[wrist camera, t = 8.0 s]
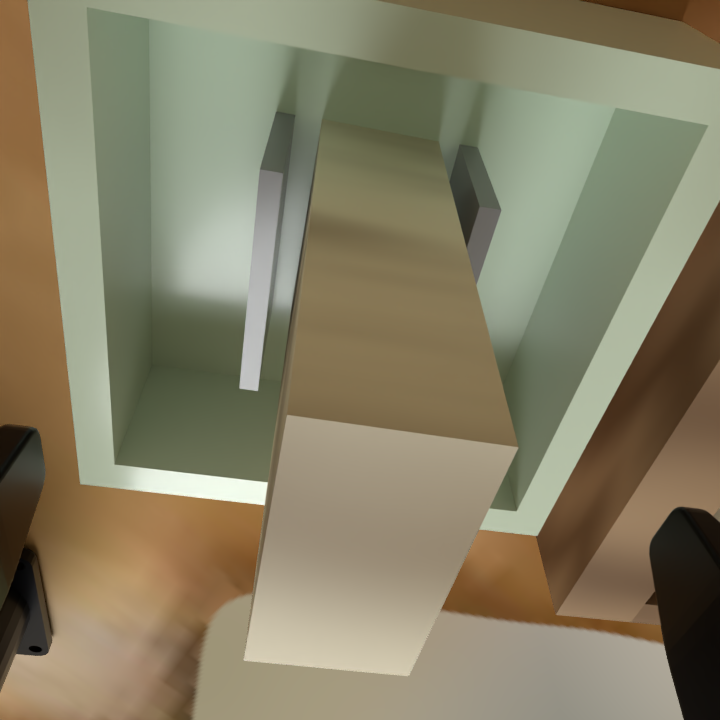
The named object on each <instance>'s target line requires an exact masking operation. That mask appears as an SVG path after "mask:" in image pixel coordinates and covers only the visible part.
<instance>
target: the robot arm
mask: <svg viewBox="0 0 720 720" xmlns="http://www.w3.org/2000/svg"><path fill="white" fill-rule="evenodd" d="M44 480H45V464H44V458H43V451H42V445H41V439H40V434H39V432H38V430H37V429H36V428H33V427H28V426H20V425H12V424H6V425H3V426H1V427H0V691H1V689H2V686H3V684H4V682H5V679H6V677H7V674H8V672H9V669H10V667H11V665H12V662H13V660H14V657H15V655H16V654H23V655H35V656H42V655H46V654H47V653H48V652H49V649H50V646H51V644H52V636H51V631H50V626H49V620H48V615H47V609H46V604H45V599H44V593H43V588H42V582H41V577H40V572H39V566H38V561H37V557H36V555H35V553H33V552H32V551H31V550H28V549H26V548H23V547H24V544H25V540H26V537H27V534H28V531H29V528H30V525H31V522H32V519H33V516H34V513H35V510H36V507H37V504H38V501H39V498H40V494H41V491H42V488H43V485H44ZM649 558H650V564H651V570H652V576H653V582H654V588H655V594H656V600H657V605H658V611H659V617H660V623H661V629H662V635H663V641H664V646H665V650H666V655H667V659H668V663H669V667H670V671H671V675H672V678H673V682H674V686H675V689H676V693H677V696H678V700H679V704H680V707H681V711H682V715H683V718H684V720H720V522H719V521H718V520H717V519H716V518H715V517H714V516H712V515H711V514H710V513H709V512H707V511H706V510H703V509H698V508H690V507H682V506H681V507H677V508H675V509H673V510H672V511H671V513H670V514H669V515H668V517H667V518H666V520H665V521H664V522H663V524H662V525H661V527H660V528H659V529H658V531H657V532H656V534H655V535H654V536H653V538H652V540H651V543H650V547H649Z"/></svg>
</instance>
